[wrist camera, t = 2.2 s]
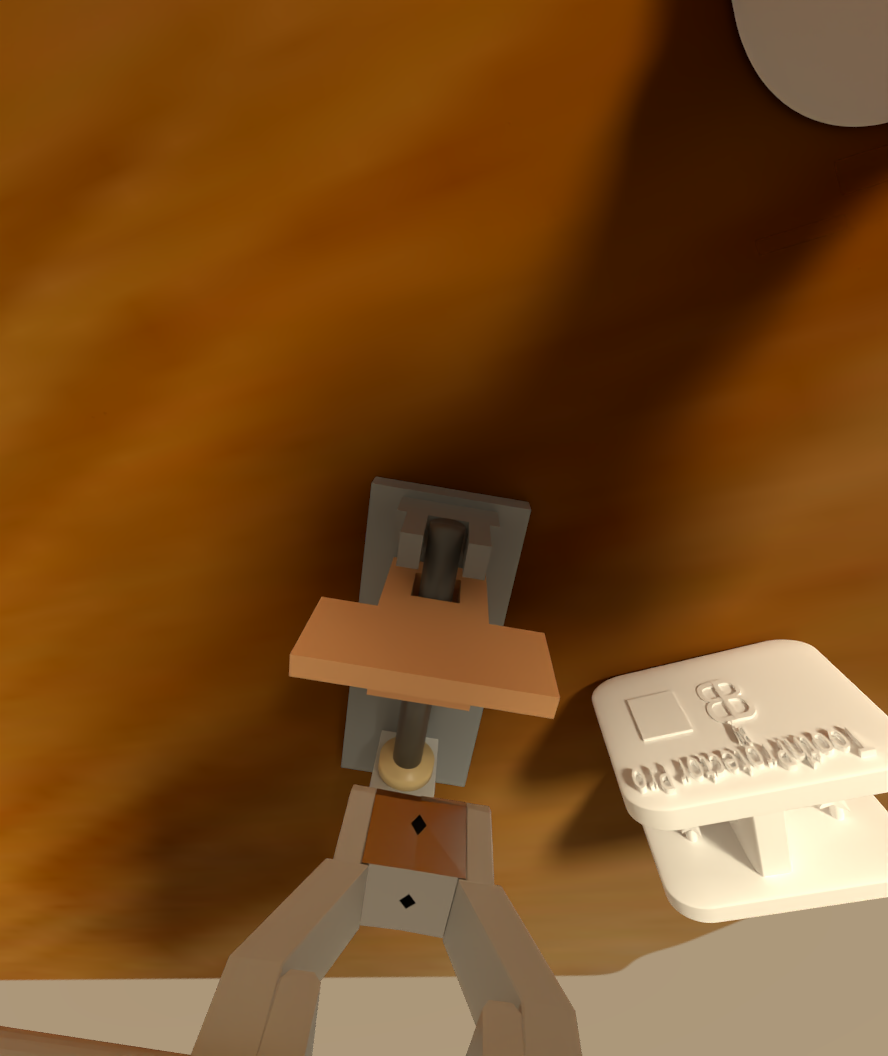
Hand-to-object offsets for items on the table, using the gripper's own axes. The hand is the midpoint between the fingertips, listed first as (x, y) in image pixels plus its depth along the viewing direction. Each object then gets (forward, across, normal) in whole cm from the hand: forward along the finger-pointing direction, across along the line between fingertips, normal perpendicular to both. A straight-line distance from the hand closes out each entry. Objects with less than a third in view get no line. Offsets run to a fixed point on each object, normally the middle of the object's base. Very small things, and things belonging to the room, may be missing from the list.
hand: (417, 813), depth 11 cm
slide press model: (+23, 0, +12) cm, 26 cm away
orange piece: (+21, 0, +7) cm, 22 cm away
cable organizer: (+23, -21, +14) cm, 34 cm away
